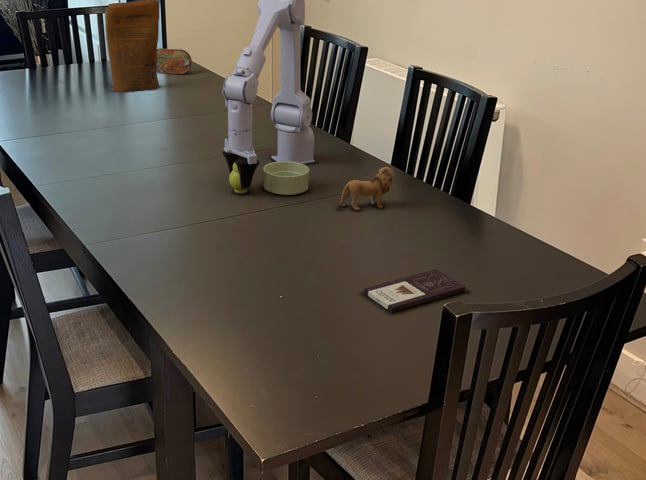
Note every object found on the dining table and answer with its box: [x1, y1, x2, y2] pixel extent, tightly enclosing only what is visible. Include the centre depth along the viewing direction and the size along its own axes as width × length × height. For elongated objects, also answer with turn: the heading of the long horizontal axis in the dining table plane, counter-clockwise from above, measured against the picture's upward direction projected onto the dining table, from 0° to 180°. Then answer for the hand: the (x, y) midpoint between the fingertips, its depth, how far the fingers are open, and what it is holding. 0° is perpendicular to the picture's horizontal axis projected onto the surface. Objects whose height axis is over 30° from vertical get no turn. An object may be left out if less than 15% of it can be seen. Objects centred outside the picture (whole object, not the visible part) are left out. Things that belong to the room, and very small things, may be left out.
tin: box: [157, 48, 193, 75], centre depth 300 cm, size 15×3×8 cm, turn 81°
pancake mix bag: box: [104, 0, 160, 93], centre depth 274 cm, size 7×19×28 cm, turn 118°
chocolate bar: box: [363, 269, 466, 313], centre depth 162 cm, size 9×1×18 cm
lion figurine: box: [336, 166, 395, 211], centre depth 197 cm, size 15×5×9 cm, turn 116°
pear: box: [228, 155, 253, 194], centre depth 202 cm, size 6×6×9 cm
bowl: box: [262, 161, 311, 196], centre depth 207 cm, size 11×11×5 cm
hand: (240, 183), depth 204 cm, fingers closed on pear, 5 cm apart
